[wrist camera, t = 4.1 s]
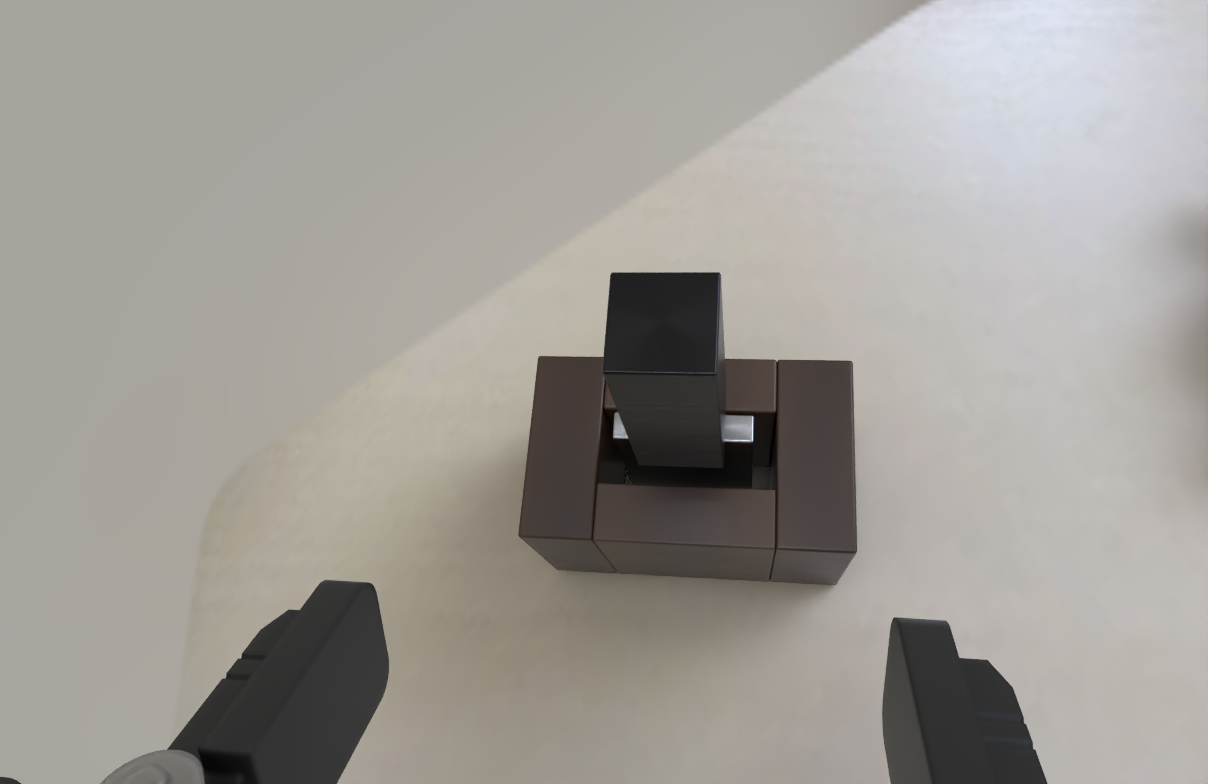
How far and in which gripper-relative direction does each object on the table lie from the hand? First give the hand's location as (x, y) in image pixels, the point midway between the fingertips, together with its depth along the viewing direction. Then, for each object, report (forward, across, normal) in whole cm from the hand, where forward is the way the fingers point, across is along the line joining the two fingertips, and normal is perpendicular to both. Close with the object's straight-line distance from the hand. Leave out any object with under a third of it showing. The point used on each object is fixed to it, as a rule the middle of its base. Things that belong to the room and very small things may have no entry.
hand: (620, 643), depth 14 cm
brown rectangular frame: (+18, 0, +8) cm, 19 cm away
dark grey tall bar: (+18, 0, +8) cm, 19 cm away
